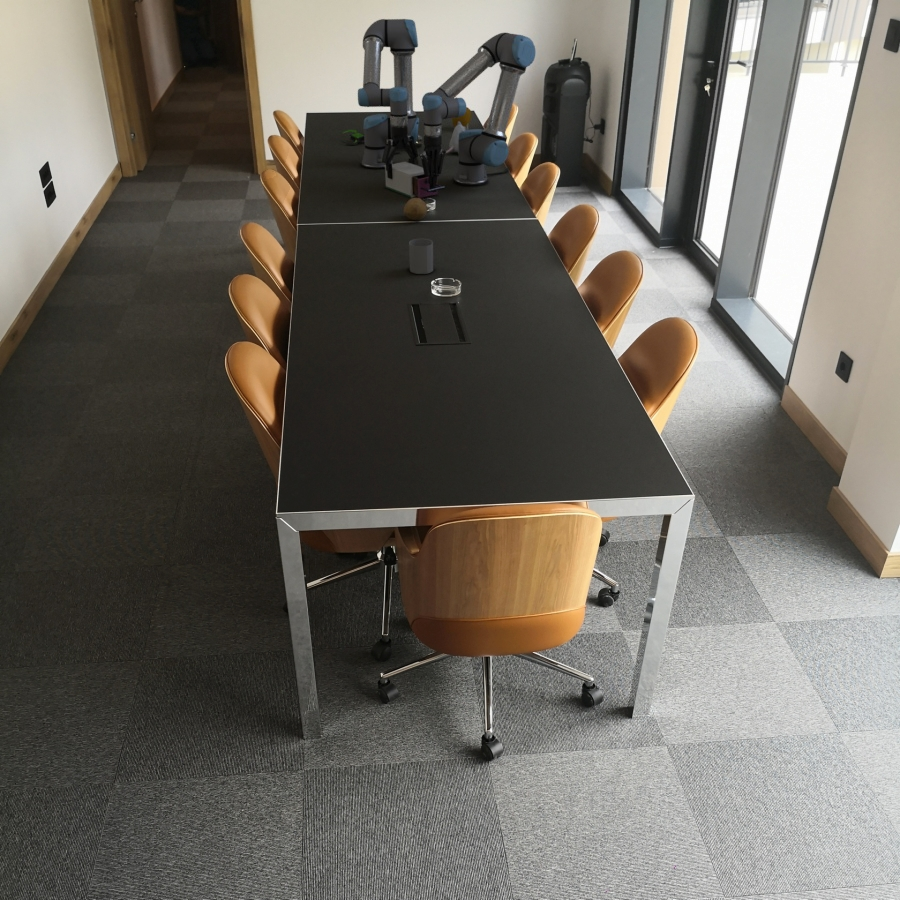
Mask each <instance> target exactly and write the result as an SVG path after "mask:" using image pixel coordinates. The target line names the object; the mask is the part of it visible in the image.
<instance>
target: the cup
mask: <svg viewBox="0 0 900 900" xmlns="http://www.w3.org/2000/svg"><path fill="white" fill-rule="evenodd" d="M408 253H409V272H411V273H412V274H416V275H426V274H430V273H432V272H434V241H433V240H431V239H428V238H422V237H421V238H420V237H419V238H414V239H411V240H410V241H409V242H408Z"/></svg>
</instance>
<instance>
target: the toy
mask: <svg viewBox="0 0 900 900" xmlns="http://www.w3.org/2000/svg"><path fill="white" fill-rule="evenodd" d="M464 130H470V129H469V126H468V124H467V128H466V127H463V126H462V124H461V123H460V122H459V121H458V124H457V126H456V127H455V128H453V132H452V133H451V137H450V138H451V139H450V140H449V145H448V146H449V149H447V150H445V151H446V154H448V153H450V154H454V152H455V153H457V155H459V141H458V140H459V133H460V132H461V131H464Z"/></svg>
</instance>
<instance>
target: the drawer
mask: <svg viewBox="0 0 900 900" xmlns="http://www.w3.org/2000/svg"><path fill="white" fill-rule="evenodd" d="M438 177H439V176H438ZM438 177H437V183H436V188H432V189H430V184H429V183H428V176H426V175H424V174H423V175H418V176H414V177H412V190H413V194H416V195H418V196H417V198H420V199H422V198H426V197H430V196H434V195H438V193H439V192H438V191H440V190H445V188H446V187H445V185H440V184H438V183H439V182H438ZM433 191H436V192H433Z"/></svg>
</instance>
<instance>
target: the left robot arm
mask: <svg viewBox="0 0 900 900" xmlns="http://www.w3.org/2000/svg"><path fill="white" fill-rule="evenodd" d="M417 32H418V31H417V26H416V22H415V20H414V19H409V18H391V19H390V18H387V19H385V18H380V19H378V20H376V21H374V22H373V23H371V24H370V25H369V27H368V28H367V29H366V30H365V32H364V35H363V38H362V49H363V50H364V53H363V54H364V55H363V56H364V57H363V59H364V60H363V77H362V81H363V82H362V87H361V88H358V89H357V105H358V106H359V107H362V108H363V107H364V108H379V107H381V108H387V107H388V108H389V111H390V112H389V113H390V115H389V116H388V114H387V113H377V114H371V115H368V116H366V117H365V118H364V119H363V134H364V140H365V141H364V151H363V155H362V159H361V166H362V167H363V168H366V169H371V170H381V169H385V166H386V171H387V176H388V178H390V179H392V164H394V161H393V158H394V156H395V155H398V154H400V151H398V149H401V148H403V149H404V151H405V152H406V154H407V155H408V157H409V158H408V163H411V164H414V165H416V161H415V160H417V158H418V157H419V153H418V149H417V147H416V142H417V141H418V133H419V126H420V118H419V117H417V113H416V112H415V111H414V101H413V100H414V97H413V96H414V95H413V94H414V93H413V91H414V90H413V89H414V88H413V55H414V54H415V52H416V48H419V40H418V33H417ZM384 48H389V52H390V53H391V55H392V56H393V83H394V84H393V87H390V88H389V87H388V88H383V87H381V69H382V68H381V67H382V52H383V50H384Z"/></svg>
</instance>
